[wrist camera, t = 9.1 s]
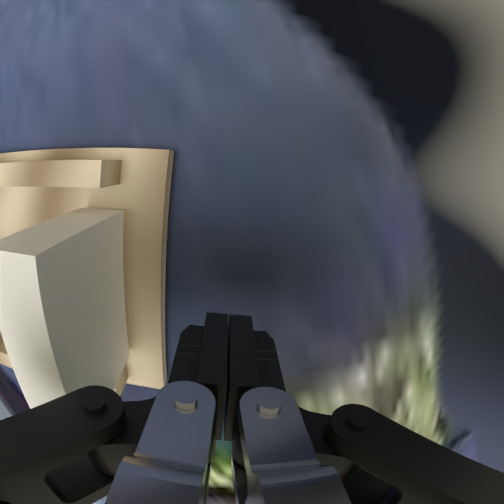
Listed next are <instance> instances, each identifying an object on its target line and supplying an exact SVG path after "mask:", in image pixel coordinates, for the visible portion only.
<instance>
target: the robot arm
mask: <svg viewBox="0 0 504 504" xmlns="http://www.w3.org/2000/svg"><path fill="white" fill-rule="evenodd" d="M223 420H224V440H227V441H232V456H231V470H232V477H233V485H234V492H235V499H236V504H504V473H503V472H500V471H497V470H495V469H492V468H490V467H487V466H485V465H483V464H481V463H478V462H476V461H474V460H471V459H469V458H467V457H465V456H462V455H460V454H458V453H456V452H454V451H452V450H449V449H447V448H445V447H443V446H441V445H439V444H437V443H435V442H433V441H431V440H429V439H427V438H425V437H423V436H421V435H419V434H417V433H415V432H413V431H411V430H409V429H407V428H405V427H404V426H402V425H400V424H398V423H396V422H394V421H392V420H391V419H389V418H387V417H385V416H383V415H381V414H380V413H378V412H376V411H374V410H373V409H371V408H369V407H366V406H363V405H359V404H347V405H343V406H341V407H339V408H337V409H336V410H335V411H334V412H333V414H332V416H331V415H325V414H320V413H314V412H310V411H307V410H304V409H302V408H300V407H298V405H297V403H296V401H295V400H294V398H293V397H292V396H291V395H289V394H288V393H287V392H286V390H285V386H284V382H283V377H282V373H281V369H280V365H279V361H278V356H277V352H276V347H275V343H274V340H273V339H272V338H271V337H270V336H269V334H268V333H267V332H266V331H253V326H252V318H251V316H243V315H231V314H230V315H229V323H228V314H219V313H209V312H207V313H206V319H205V326H195V325H189V326H188V327H187V328H186V329H185V330H183V331H182V332H181V335H180V339H179V344H178V346H177V350H176V354H175V358H174V362H173V365H172V369H171V373H170V377H169V381H168V384H167V385H165V386H164V387H162V388H161V389H160V390H159V392H158V394H157V396H156V397H154V398H151V399H148V400H143V401H129V402H122V399H121V397H120V396H119V395H118V394H117V393H116V392H115V391H113V390H112V389H110V388H107V387H104V386H98V385H92V386H86V387H82V388H80V389H77V390H75V391H73V392H70V393H68V394H66V395H63V396H61V397H59V398H56V399H54V400H51V401H49V402H47V403H44V404H42V405H39V406H37V407H34V408H32V409H29V410H27V411H24V412H22V413H19V414H16V415H14V416H11V417H8V418H6V419H3V420H0V504H92V503H94V502H96V501H98V500H99V499H101V498H103V497H105V496H107V495H108V496H107V499H106V502H105V504H206V501H207V493H208V486H209V478H210V470H211V463H212V459H213V457H214V453H215V441H216V440H221V439H222V430H223Z"/></svg>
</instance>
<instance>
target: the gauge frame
mask: <svg viewBox="0 0 504 504" xmlns="http://www.w3.org/2000/svg"><path fill="white" fill-rule="evenodd" d="M173 157H174V151H173V150H166V149H144V148H67V149H47V150H32V151H20V152H9V153H0V239H3V238H5V237H7V236H10V235H12V234H14V233H17V232H19V231H21V230H24V229H26V228H29V227H31V226H34V225H36V224H39V223H41V222H44V221H46V220H49V219H52V218H54V217H57V216H60V215H62V214H65V213H68V212H71V211H74V210H76V209H79V208H96V209H110V210H123V211H124V223H123V272H124V297H125V313H126V325H127V336H128V346H129V355H130V356H129V358H128V360H127V362H126V364H125V366H124V369H123V371H122V373H121V375H120V377H119V380H118V382H117V384H116V386H115V389H114V391H115V392H116V393H117V394H118V395H119V396H121V394H122V391H123V389H124V386H125V384H126V383H128V384H134V385H139V386H145V387H150V388H157V389H161V388H162V387H164V386H165V384H166V380H167V369H166V341H165V274H166V246H167V227H168V212H169V198H170V187H171V176H172V166H173ZM0 363H1V364H3V365H5V366H8V367H10V368H12V369H13V367H12V365H11V362H10V359H9V356H8V353H7V351H6V348H5V345H4V341H3V338H2V335H1V332H0Z"/></svg>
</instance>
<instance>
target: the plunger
mask: <svg viewBox="0 0 504 504" xmlns="http://www.w3.org/2000/svg"><path fill="white" fill-rule="evenodd" d="M123 223H124V211H123V210H110V209H96V208H79V209H76V210H74V211H71V212H68V213H65V214H62V215H60V216H57V217H54V218H52V219H49V220H46V221H44V222H41V223H39V224H36V225H34V226H31V227H29V228H26V229H24V230H21V231H19V232H17V233H14V234H12V235H10V236H7V237H5V238H3V239H0V332H1V335H2V338H3V341H4V345H5V348H6V351H7V353H8V356H9V359H10V362H11V365H12V367H13V370H14V372H15V375H16V377H17V380H18V382H19V385H20V387H21V389H22V392H23V394H24V396H25V398H26V401H27V403H28V405H29V407H30V409H32V408H34V407H37V406H39V405H42V404H44V403H47V402H49V401H51V400H54V399H56V398H59V397H61V396H63V395H66V394H68V393H70V392H73V391H75V390H77V389H80V388H82V387H86V386H92V385H98V386H104V387H107V388H110V389H112V390H113V391H114V389H115V386H116V384H117V382H118V380H119V377H120V375H121V373H122V371H123V369H124V366H125V364H126V362H127V360H128V358H129V356H130V355H129V346H128V336H127V325H126V313H125V297H124V272H123Z"/></svg>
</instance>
